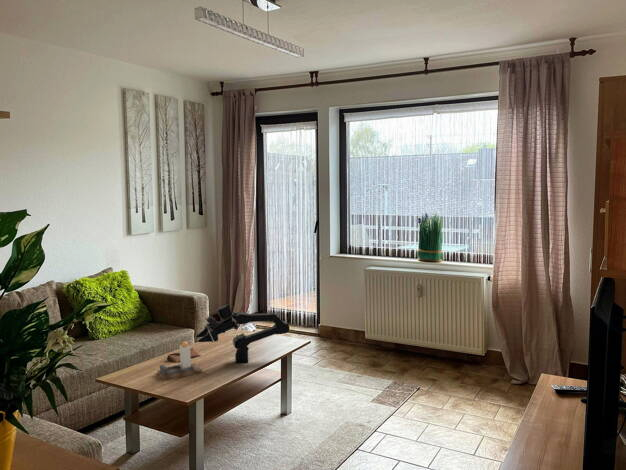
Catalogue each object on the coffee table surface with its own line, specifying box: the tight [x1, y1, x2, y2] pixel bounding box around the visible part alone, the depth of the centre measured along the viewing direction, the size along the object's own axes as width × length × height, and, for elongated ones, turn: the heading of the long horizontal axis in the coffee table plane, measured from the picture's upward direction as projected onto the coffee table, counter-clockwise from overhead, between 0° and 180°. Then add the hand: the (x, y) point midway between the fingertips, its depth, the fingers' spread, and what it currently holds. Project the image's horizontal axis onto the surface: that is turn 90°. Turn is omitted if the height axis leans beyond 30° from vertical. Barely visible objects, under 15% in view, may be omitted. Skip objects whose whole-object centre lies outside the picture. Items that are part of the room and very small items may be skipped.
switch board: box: [157, 363, 203, 381], centre depth 280 cm, size 20×12×4 cm, turn 120°
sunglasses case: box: [166, 347, 202, 364], centre depth 305 cm, size 18×7×7 cm, turn 141°
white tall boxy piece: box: [179, 341, 192, 369], centre depth 281 cm, size 4×5×14 cm
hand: (197, 339), depth 289 cm, fingers open, 9 cm apart
